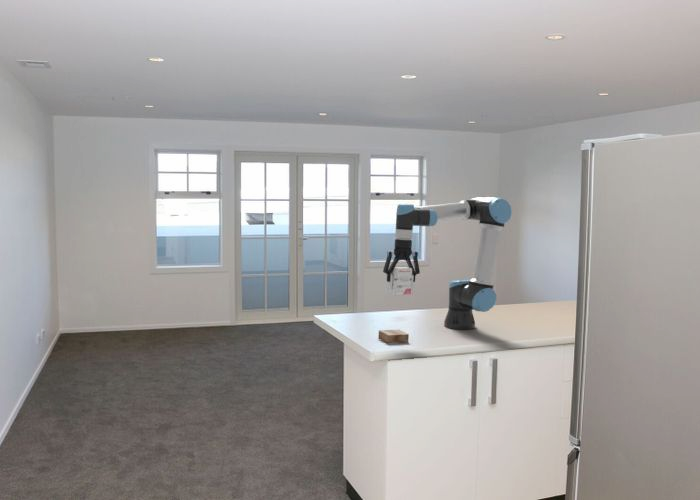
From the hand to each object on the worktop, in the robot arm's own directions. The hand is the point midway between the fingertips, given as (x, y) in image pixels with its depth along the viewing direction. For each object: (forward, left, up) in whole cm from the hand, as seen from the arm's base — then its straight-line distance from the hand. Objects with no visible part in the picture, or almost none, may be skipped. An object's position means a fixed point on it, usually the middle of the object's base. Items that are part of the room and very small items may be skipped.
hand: (400, 289), depth 300 cm
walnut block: (+3, +2, -23) cm, 23 cm away
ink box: (0, 0, -2) cm, 2 cm away
